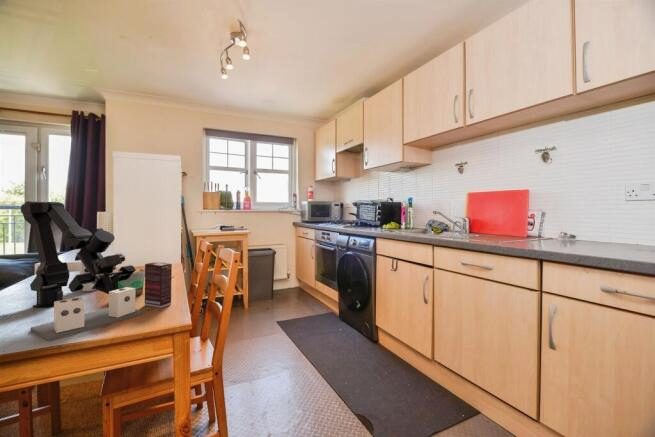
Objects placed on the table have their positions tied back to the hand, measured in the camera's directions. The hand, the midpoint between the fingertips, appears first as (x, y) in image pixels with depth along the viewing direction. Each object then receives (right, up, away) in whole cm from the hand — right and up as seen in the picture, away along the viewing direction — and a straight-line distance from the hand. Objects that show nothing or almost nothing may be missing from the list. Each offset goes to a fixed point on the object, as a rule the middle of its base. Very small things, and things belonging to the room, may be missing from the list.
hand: (117, 296), depth 95 cm
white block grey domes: (-5, -6, -13) cm, 15 cm away
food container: (-10, -6, +23) cm, 26 cm away
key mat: (-5, -7, -5) cm, 10 cm away
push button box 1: (+2, -6, -1) cm, 6 cm away
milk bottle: (-35, -6, +31) cm, 47 cm away
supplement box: (+6, -7, +13) cm, 16 cm away
